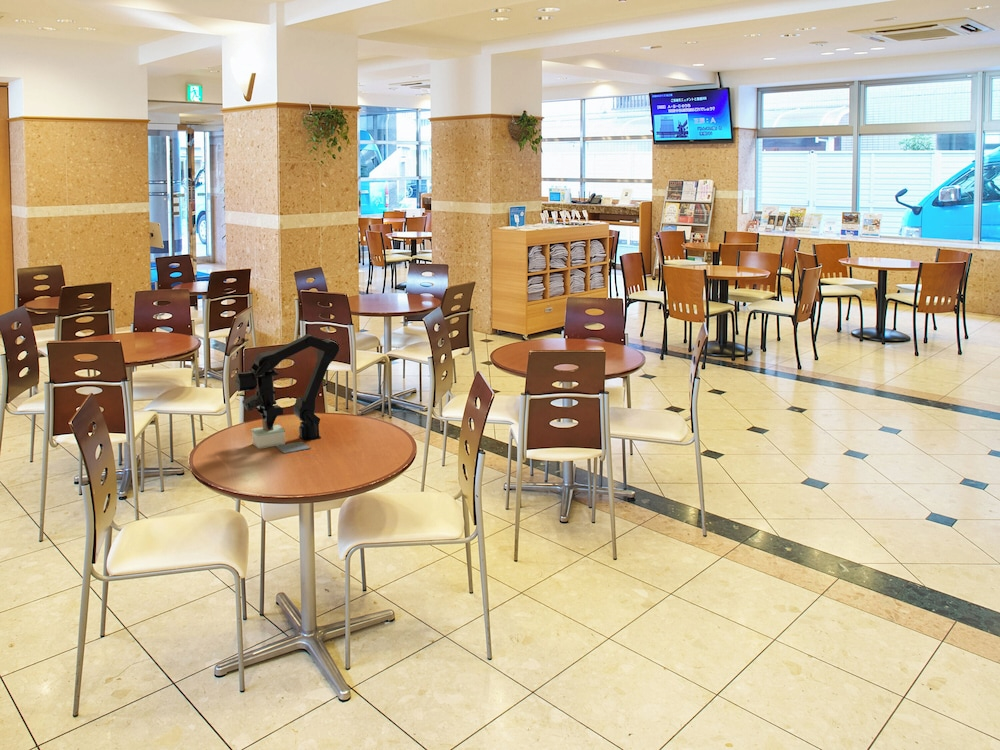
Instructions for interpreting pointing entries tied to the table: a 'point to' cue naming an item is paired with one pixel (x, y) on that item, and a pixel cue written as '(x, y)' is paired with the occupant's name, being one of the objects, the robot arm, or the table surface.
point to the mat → (292, 447)
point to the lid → (265, 431)
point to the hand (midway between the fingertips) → (268, 428)
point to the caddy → (268, 440)
